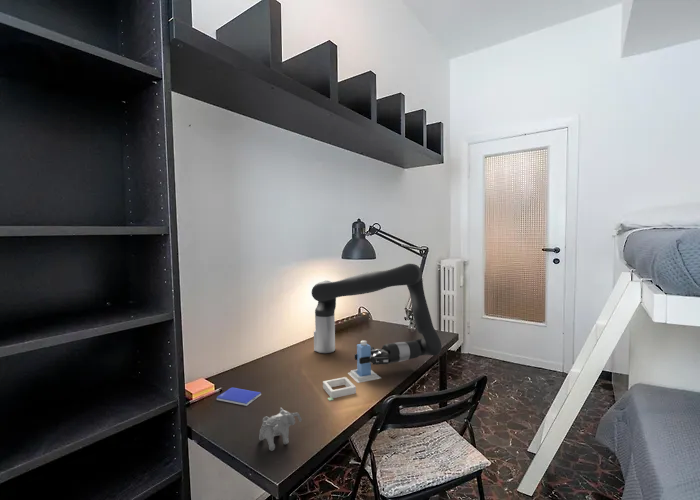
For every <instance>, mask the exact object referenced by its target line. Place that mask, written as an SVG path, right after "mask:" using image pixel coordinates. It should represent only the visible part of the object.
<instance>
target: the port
mask: <svg viewBox="0 0 700 500" xmlns="http://www.w3.org/2000/svg"><path fill="white" fill-rule="evenodd" d="M340 386H345V387H342V388H336V389H333V388H335V387H340ZM322 388H323V390H324V391H325V393H327V395H328V396H329V397H327V401H329V402H330V401H334V399H336V398H340V397H345V396H350V395H353V394H357V391H356V389H357V388H356V385H355V384H354V383H352V381H351V380H350V379H348V377H347V376H343V377H338V378H333V379H329V380H322Z"/></svg>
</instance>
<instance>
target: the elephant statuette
mask: <svg viewBox="0 0 700 500" xmlns="http://www.w3.org/2000/svg"><path fill="white" fill-rule="evenodd" d="M295 417H297V419H298V421H299V422H301V423H302V421H303V420H302V417H301V415H300V414H299V412H289V411H288V410H287V409H286V410H284V408H283V407H282V406H281V407H280V408H279V413H277V414H273V415H271V416H270V417H269V416H264V417H263V418H262V424H261V426H260V429H259V437H258V439H259V440H260V441H264V440H266V441H267V445H268V449H269V451H271V452H272V451H274V450H275V449H276V444H275V442H274V440H275V439H274V438H275V437H279V436H281V439H282V443H283V445H288V444H289V441H290V438H289V434H290V431H289V429H290V426H294V425H295V424H296V418H295Z"/></svg>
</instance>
